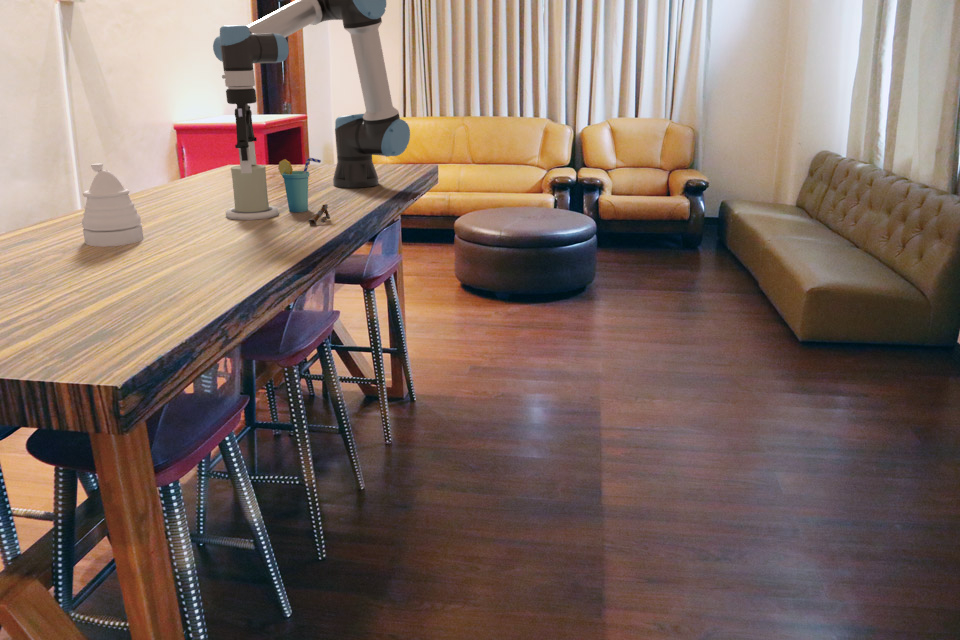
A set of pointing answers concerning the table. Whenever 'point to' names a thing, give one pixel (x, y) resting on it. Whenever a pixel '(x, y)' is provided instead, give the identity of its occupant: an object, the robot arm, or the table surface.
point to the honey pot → (109, 212)
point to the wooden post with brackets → (314, 219)
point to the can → (250, 189)
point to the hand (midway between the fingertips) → (249, 169)
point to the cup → (296, 185)
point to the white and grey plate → (252, 214)
